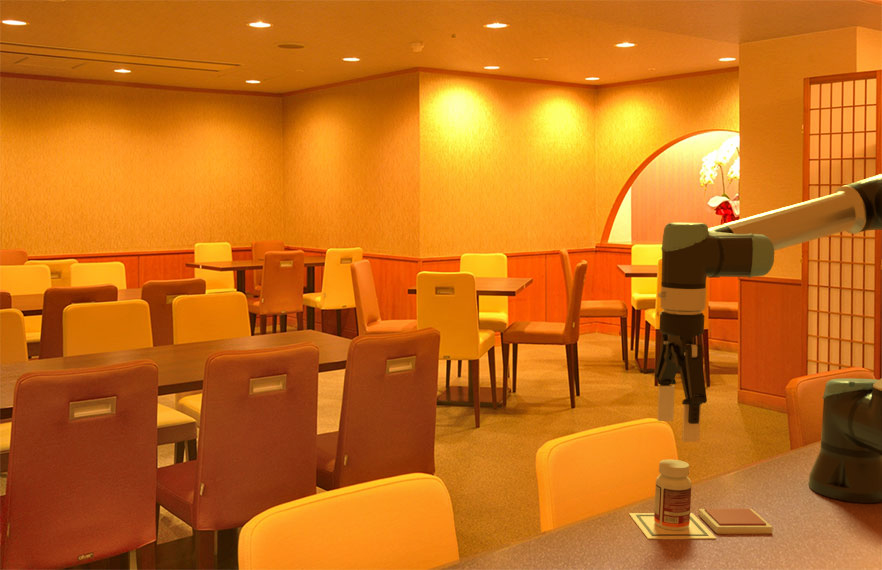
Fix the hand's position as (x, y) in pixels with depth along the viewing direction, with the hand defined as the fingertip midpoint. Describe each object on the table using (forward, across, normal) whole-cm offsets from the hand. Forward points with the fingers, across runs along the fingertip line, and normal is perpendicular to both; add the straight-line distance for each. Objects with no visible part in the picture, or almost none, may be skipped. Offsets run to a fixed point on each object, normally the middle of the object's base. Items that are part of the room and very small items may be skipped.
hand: (677, 430), depth 159 cm
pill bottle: (+18, 0, 0) cm, 18 cm away
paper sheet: (+18, 0, 0) cm, 18 cm away
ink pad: (+18, -1, +12) cm, 21 cm away
